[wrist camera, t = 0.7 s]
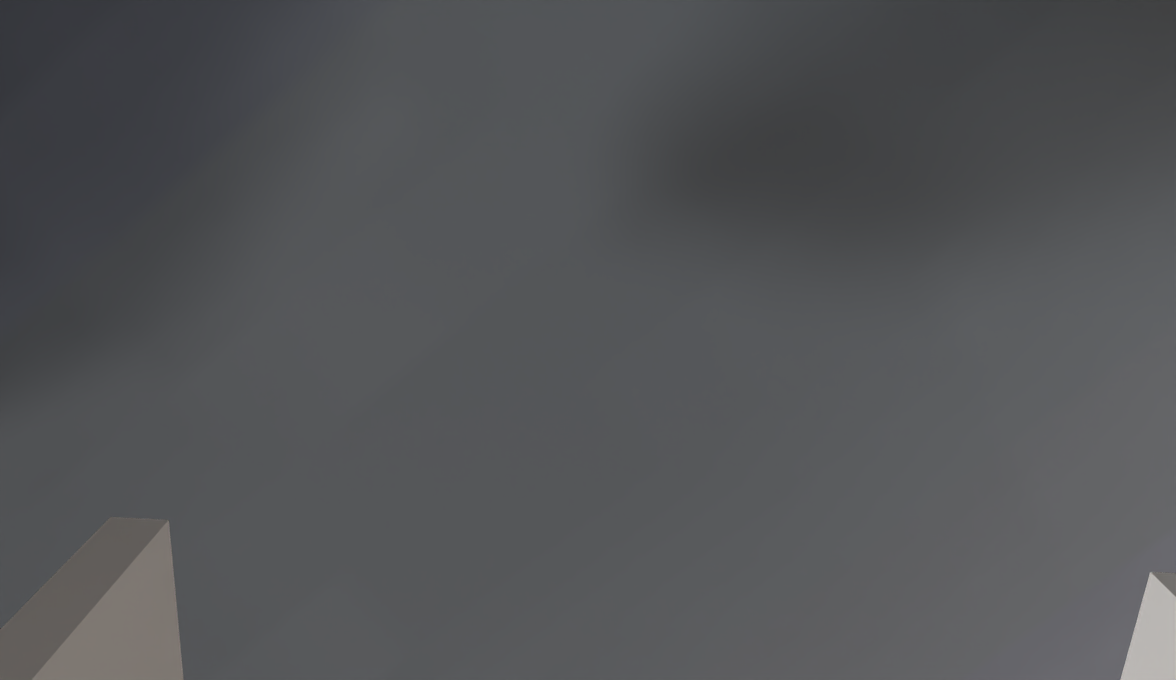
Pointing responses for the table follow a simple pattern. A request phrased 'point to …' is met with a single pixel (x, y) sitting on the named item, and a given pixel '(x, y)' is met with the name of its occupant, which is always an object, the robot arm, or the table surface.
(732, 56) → the table surface
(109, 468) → the table surface
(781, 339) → the table surface
